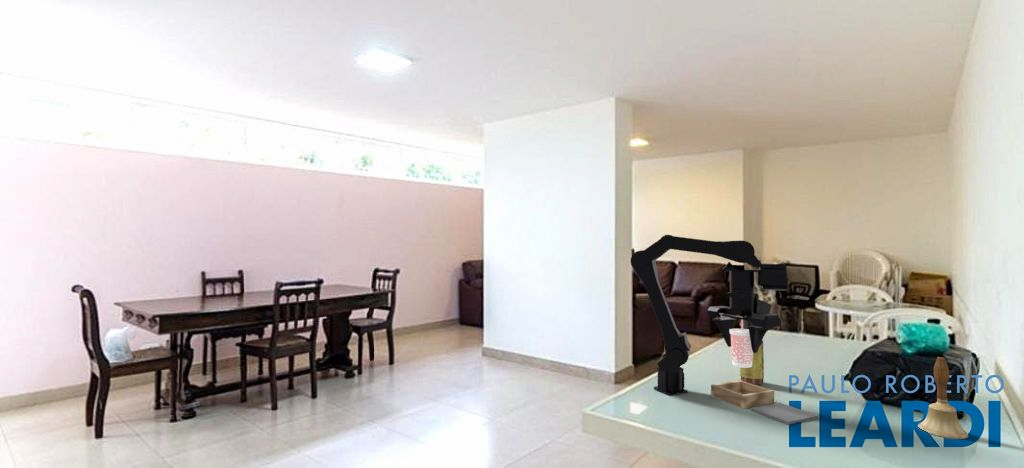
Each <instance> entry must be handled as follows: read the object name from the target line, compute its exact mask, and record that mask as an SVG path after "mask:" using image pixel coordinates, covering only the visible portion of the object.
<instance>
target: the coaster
mask: <svg viewBox="0 0 1024 468" xmlns="http://www.w3.org/2000/svg"><path fill="white" fill-rule="evenodd" d="M750 411H751V412H754V413H757V414H759V415H762V416H764V417H768V418H770V419H772V420H776V421H777V422H780V423H783V424H786V425H794V424H797V423H796V422H799V423H802V422H807V421H808V422H809V421H813V420H816V419H819V415H818V414H815V413H811V412H808V411H806V410H803V409H800V408H796V407H793V406H791V405H788V404H785V403H782V402H775V403H771V404H766V405H760V406H755V407H750Z"/></svg>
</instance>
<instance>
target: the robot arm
mask: <svg viewBox="0 0 1024 468" xmlns="http://www.w3.org/2000/svg"><path fill="white" fill-rule="evenodd" d="M669 250H674V251H675V250H676V251H682V252H689V253H698V254H706V255H713V256H716V257H720V258H723V259H726V260H729V261H728V262H727V264H726V265H725V266H723V267H722V269H721V270H722V271H723V272H729V292H726V293H725V294H726V295H725V296H726V297H728V298H729V306H724V305H714V306H713V305H712V306H709V307H708V308H707V310H706V311H707V312H706V316H707V318H711V319H712V322H715V325H716V327H717V328H718V329H719V331H720V334H721V335H722V337H723V340H724V341H725V343H726V346H727V347H728V348H730V347H731V334H730V333H729V332H730V331H729V329H734V325H735V323H736V322H737V319H738V320H740V321H741V320H743V321H744V320H747V321H751V322H752V324H753V325H754V326H748V328H749V334H750V341H751V347H752V351H753V353H757V352H758V349H759V347H760V344H761V342H762V340H763V339H764V337H765V335H766V334H767V332H768V331H769V330H773V329H774V328H775V327H776V328H777V327H782V319H781V317H780V315H779V314H777V313H771V310H772V306H773V304H770V303H768V302H767V301H764V300H762V299H760V296H759V295H760V294H759V292H758V293H756V292H755V273H756V285H757V287H759V286H760V287H761V290H762V291H783V292H784V291H786V292H787V291H788V288H789V287H788V285H789V280H788V279H789V277H788V273H787V263H784V262H782V263H779V262H778V263H762V260H761V259H758V258H757V255H755V247H754V245H753V244H752V243H750V242H749V241H746V240H717V241H715V240H707V239H701V238H700V239H698V238H691V237H683V236H677V235H672V234H664V235H663V236H661V237H660V239H658V240H657V241H655V242H654V243H652V244H651V245H649V246H648V247H646V248H645V249H642V250H641V249H640V250H637V251H635V252H634V253H633V254H632V256H631V258H630V261H629V262H630V266H631V267H632V269H633V271H634V272H635V274H636V276H637V277H638V279H640V281H641V282H642V284H643V285H644V288H645V290H646V293H647V296H648V299H649V301H650V304H651V306H652V309H653V311H654V314H655V317H656V319H657V321H658V325H659V327H660V330H661V333H662V340H663V348H664V352H665V353H663V355H661V357H660V358H659V359H658V361H657V363H656V364H657V385H656V386H653V389H654V390H656V391H659V392H661V393H664V394H666V395H668V396H673V395H678V394H685V393H688V389H685V373H684V367H681V366H683V365H685V364H687V362H688V360H689V357H690V354H691V348H692V344H691V343H690V342H689V339H688V336H687V335H688V334H687V332H686V331H684V332H683V333H681V331H680V330H679V329H678V328H677V325H676V322H675V320H674V317H673V314H672V312H671V309H670V307H669V304H668V302H667V299H666V296H665V294H664V292H663V289H662V286H661V283H660V281H659V277H658V276H659V275H658V267H657V263H656V261H657V260H658V259H659V258H660V257H663V255H665V254H666V253H667V252H668V251H669ZM730 261H733V262H736V263H740V264H732V263H731V262H730ZM745 264H748V265H749V266H751V267H752V268H745V267H746V266H745ZM758 268H759V269H758Z"/></svg>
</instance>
